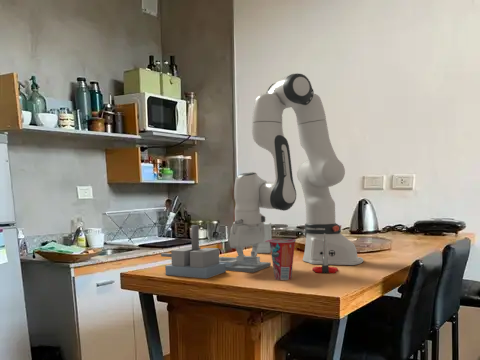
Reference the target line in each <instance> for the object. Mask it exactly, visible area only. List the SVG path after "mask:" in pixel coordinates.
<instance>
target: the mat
mask: <svg viewBox="0 0 480 360" xmlns="http://www.w3.org/2000/svg"><path fill="white" fill-rule="evenodd" d="M271 264H272V263H271V262H269V261H268V262H267V261H260V265H259V266H244V265H235V266H232V267H229V266H225V271H228V270H229V271H231V272H241V271H242V273H243V272H244V273H255V272H258V271H261V270H264V269H266V268H268V267H271Z"/></svg>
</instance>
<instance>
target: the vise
mask: <svg viewBox="0 0 480 360" xmlns="http://www.w3.org/2000/svg"><path fill="white" fill-rule="evenodd" d="M190 227H191V246H187V247H181V248H177V249H172V250H171V253H169V252H168V253H167V252H161V253H160V257H163V258H164V257H165V258H171V264H166V265H165V270H164V271H165V275H166V276H176V277H185V278H186V277H187V278H198V279H208V278H209V279H210V278H212V277H215V276H218V275H221V274H224V273H226V270H225V263H219V257H220V248H215V247H214V248H213V247H204V248H201V246H200V233H199V232H200V231H199V225H196V224H193V225H191V226H190Z"/></svg>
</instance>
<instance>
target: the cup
mask: <svg viewBox="0 0 480 360" xmlns="http://www.w3.org/2000/svg"><path fill="white" fill-rule="evenodd" d="M265 242H270V248H271V252H270V254H271V255H270V256H271V260H272V266H273V267H272V268H273V274H274V275H273V276H274V280H277V281H288V280H292V273H293V263H294V255H295V254H294V253H295V247H296V242H297V240H296V238H295V239H294V238H272V239H270V240H267V241H265Z"/></svg>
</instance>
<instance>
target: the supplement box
mask: <svg viewBox="0 0 480 360" xmlns="http://www.w3.org/2000/svg"><path fill="white" fill-rule="evenodd" d="M264 225H265V238H264V241H263V242H261V243H259V247H258V250H257V254H271V248H270V242H265V241H267V240H270V239H273V238H272V237H273V236H272V222H264Z"/></svg>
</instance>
